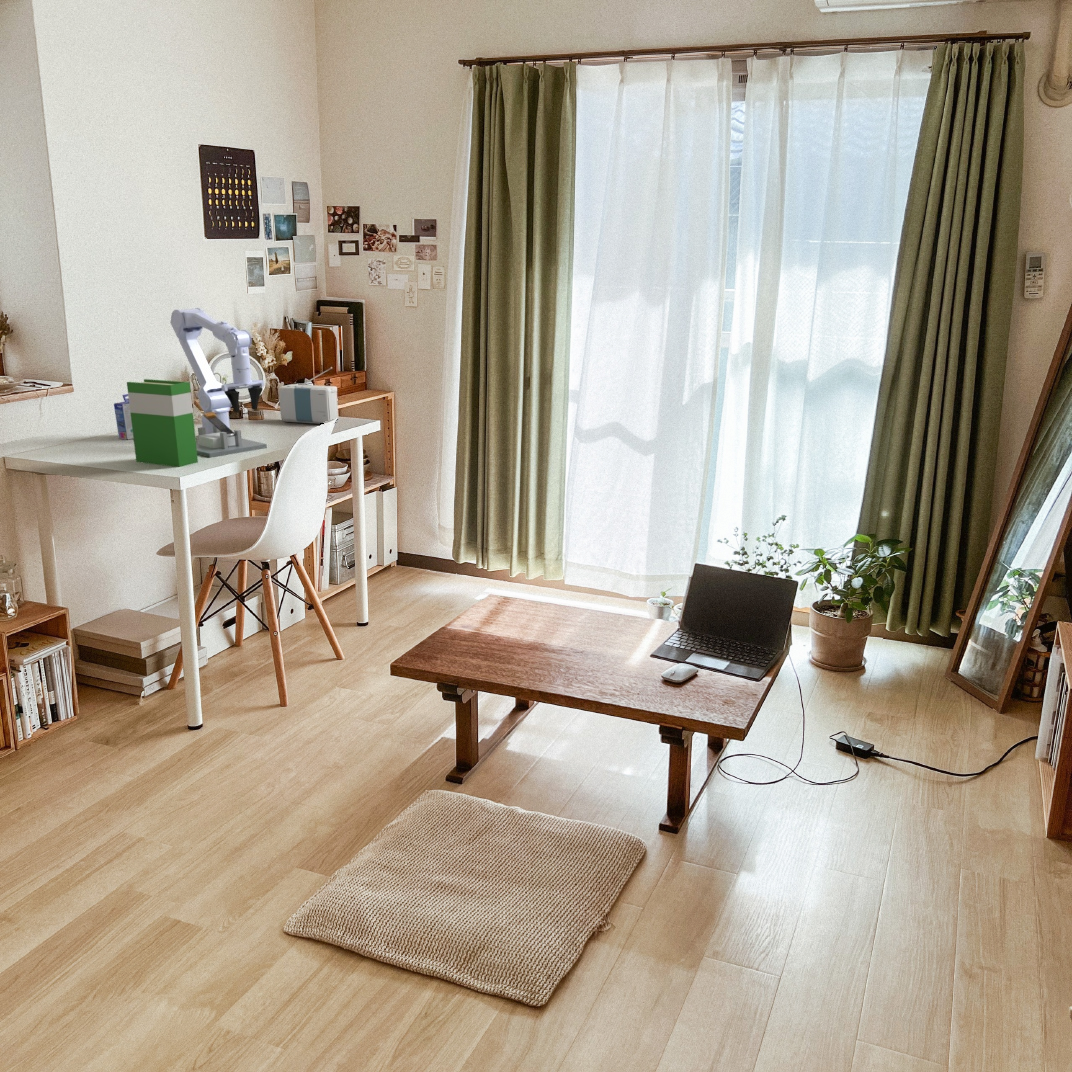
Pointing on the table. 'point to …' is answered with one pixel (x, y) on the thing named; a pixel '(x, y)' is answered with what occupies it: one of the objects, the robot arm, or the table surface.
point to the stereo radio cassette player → (308, 403)
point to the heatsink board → (223, 443)
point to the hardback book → (162, 422)
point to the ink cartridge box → (123, 419)
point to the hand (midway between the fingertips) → (245, 410)
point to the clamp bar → (219, 424)
